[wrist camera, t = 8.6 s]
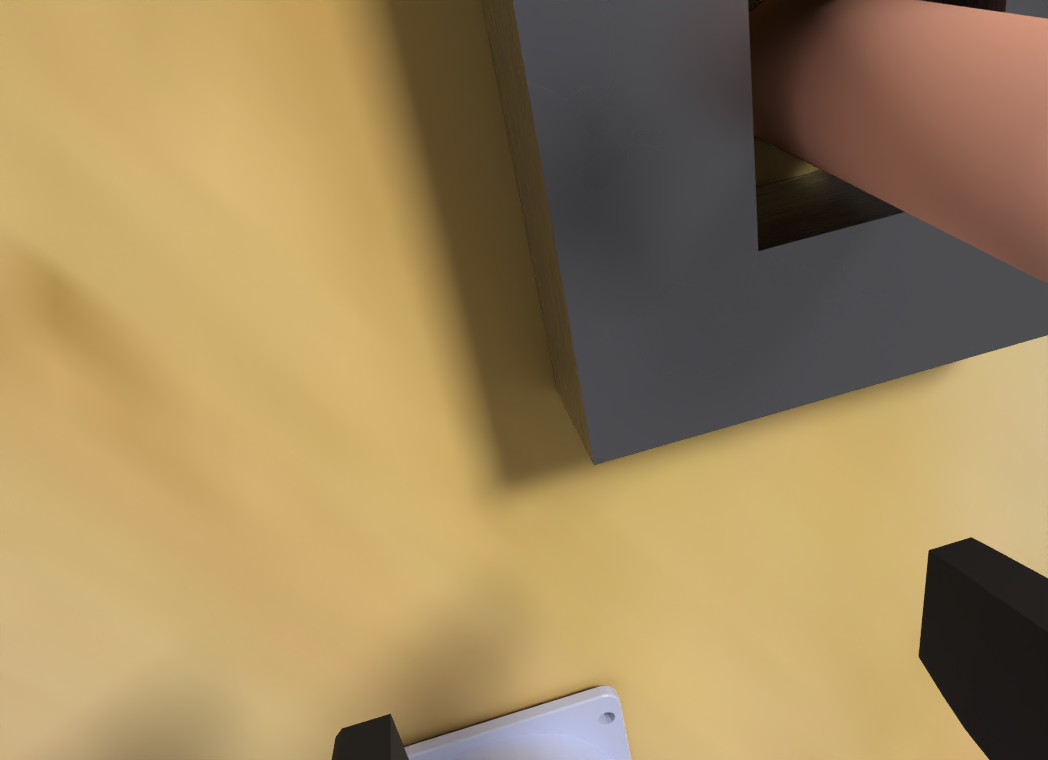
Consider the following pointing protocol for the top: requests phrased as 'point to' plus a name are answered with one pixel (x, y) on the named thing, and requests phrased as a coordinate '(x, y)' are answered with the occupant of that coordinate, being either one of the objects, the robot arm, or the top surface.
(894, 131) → the pin
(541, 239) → the collar block
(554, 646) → the top surface
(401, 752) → the robot arm
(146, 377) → the top surface
